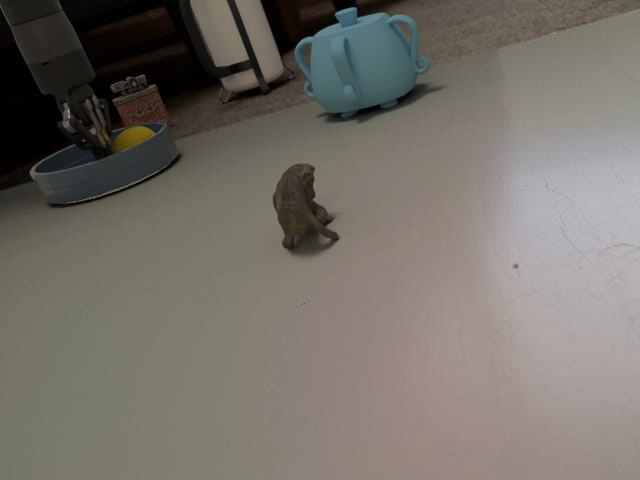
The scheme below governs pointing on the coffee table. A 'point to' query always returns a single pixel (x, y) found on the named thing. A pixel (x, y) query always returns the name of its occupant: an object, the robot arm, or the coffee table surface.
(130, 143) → the lemon
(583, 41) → the coffee table surface
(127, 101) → the lighter
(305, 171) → the brown furry figure
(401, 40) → the decorative pot
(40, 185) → the bowl
